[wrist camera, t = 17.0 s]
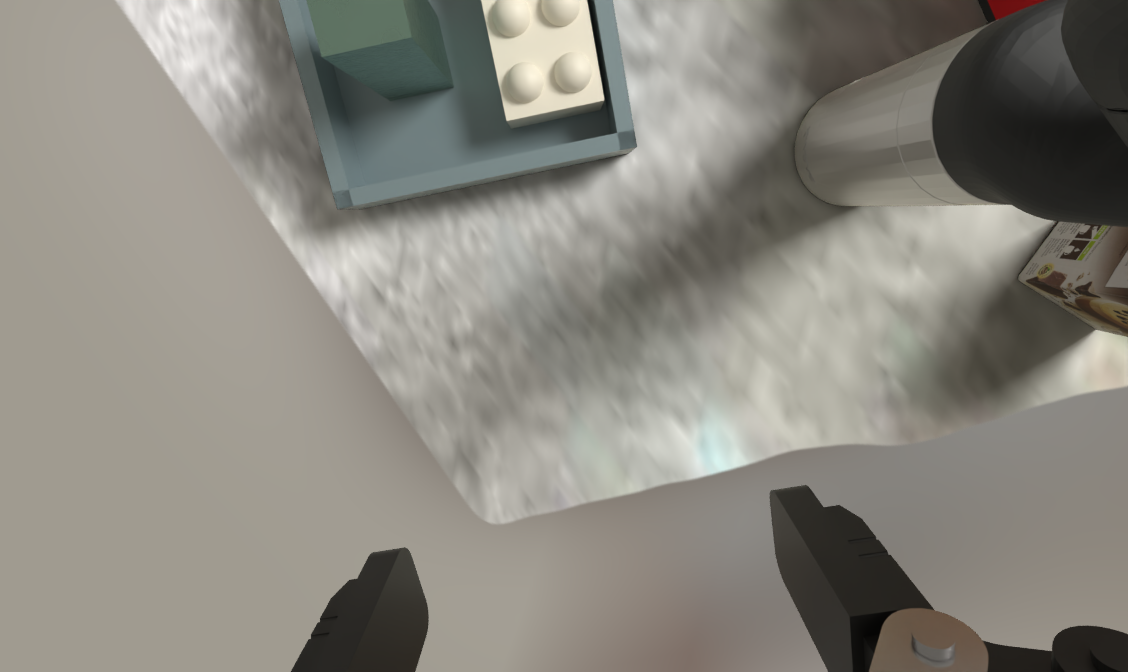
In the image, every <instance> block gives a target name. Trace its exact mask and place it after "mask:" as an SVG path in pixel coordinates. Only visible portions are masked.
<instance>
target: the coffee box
mask: <svg viewBox="0 0 1128 672" xmlns="http://www.w3.org/2000/svg"><path fill="white" fill-rule="evenodd" d="M1018 278H1019V281H1020V282H1022V283H1023V284H1025V285H1026V286H1028V287H1030V288H1031V289H1033V290H1034V291H1036V292H1038V293H1039V294H1041V295H1042V296H1044V297H1046V298H1047V299H1049V300H1050V301H1052V302H1054V303H1055V304H1057V305H1058V306H1060V307H1061V308H1063V309H1065V310H1066V311H1068V312H1069V313H1071V314H1072V315H1074V316H1076V317H1077V318H1079V319H1080V320H1082V321H1083V322H1085V323H1087V324H1088V325H1090V326H1091V327H1093V328H1095V329H1096V330H1100V331H1104V332H1109V333H1113V334H1117V335H1122V336H1126V337H1128V227H1117V226H1106V225H1094V224H1082V223H1070V222H1060V221H1059V222H1058V224H1057V225H1056V226H1055V228H1054V229H1053V230H1052V232H1051V233H1050V235H1049V236H1048V237H1047V239H1046V240H1045V241H1044V243H1043V244H1042V245H1041V247H1040V248H1039V249H1038V251H1037V252H1036V253H1035V255H1034V256H1033V257H1032V259H1031V260H1030V261H1029V263H1028V264H1027V265H1026V267H1025V268H1024V269H1023V271H1022V272H1021V274H1020V275H1019V277H1018Z"/></svg>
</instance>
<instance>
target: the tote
mask: <svg viewBox="0 0 1128 672" xmlns="http://www.w3.org/2000/svg"><path fill="white" fill-rule="evenodd" d="M428 1H429V3H430V4H431V6H432V8H433V9H434V11H435V12H436V14H437V16H438V19H439V23H440V27H441V32H442V36H443V41H444V45H445V49H446V54H447V58H448V62H449V67H450V71H451V76H452V80H453V84H454V88H449V89H445V90H440V91H435V92H431V93H426V94H422V95H417V96H412V97H408V98H403V99H398V100H394V101H389V100H388V99H386V98H384V97H383V96H381V95H380V94H378V93H377V92H375V91H374V90H372V89H370V88H369V87H367V86H366V85H364V84H363V83H361V82H360V81H358V80H357V79H355V78H353V77H352V76H350V75H349V74H347V73H346V72H344V71H343V70H341V69H339V68H338V67H336V66H335V65H333V64H332V63H330V62H329V61H327V60H325V59H324V58H322V56H321V53H320V49H319V45H318V42H317V38H316V34H315V31H314V27H313V23H312V20H311V16H310V12H309V8H308V5H307V1H306V0H279V3H280V6H281V10H282V13H283V17H284V21H285V24H286V28H287V31H288V35H289V38H290V42H291V46H292V49H293V53H294V56H295V60H296V63H297V67H298V71H299V74H300V78H301V81H302V85H303V88H304V92H305V96H306V99H307V103H308V106H309V110H310V113H311V117H312V121H313V124H314V128H315V131H316V135H317V139H318V142H319V146H320V149H321V153H322V156H323V160H324V164H325V167H326V171H327V174H328V178H329V181H330V185H331V189H332V192H333V196H334V199H335V203H336V206H337V209H364V208H369V207H374V206H379V205H383V204H388V203H393V202H398V201H403V200H407V199H412V198H417V197H422V196H427V195H431V194H436V193H441V192H446V191H451V190H455V189H460V188H465V187H470V186H475V185H480V184H484V183H489V182H494V181H499V180H504V179H508V178H513V177H518V176H523V175H528V174H532V173H537V172H542V171H547V170H552V169H556V168H561V167H566V166H571V165H576V164H580V163H585V162H590V161H595V160H600V159H604V158H609V157H614V156H619V155H624V154H628V153H630V152H631V151H632V150H634V149H635V148H636V147H637V144H636V138H635V132H634V126H633V120H632V114H631V108H630V102H629V96H628V90H627V84H626V78H625V71H624V65H623V59H622V53H621V47H620V41H619V35H618V29H617V23H616V17H615V11H614V5H613V0H587V3H588V9H589V14H590V20H591V26H592V32H593V37H594V43H595V49H596V54H597V60H598V66H599V72H600V77H601V83H602V89H603V95H604V103H603V105H602V107H601V110H598V111H593V112H589V113H584V114H579V115H574V116H570V117H565V118H560V119H555V120H551V121H546V122H541V123H536V124H532V125H527V126H522V127H517V128H513V129H511V128H510V126H509V124H508V123H507V121H506V116H505V111H504V107H503V102H502V97H501V92H500V88H499V83H498V78H497V73H496V69H495V64H494V59H493V54H492V50H491V45H490V40H489V35H488V31H487V26H486V21H485V16H484V12H483V7H482V2H481V0H428Z"/></svg>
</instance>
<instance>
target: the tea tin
mask: <svg viewBox="0 0 1128 672" xmlns="http://www.w3.org/2000/svg"><path fill="white" fill-rule="evenodd" d="M306 1H307V5H308V8H309V12H310V16H311V20H312V23H313V27H314V31H315V34H316V38H317V42H318V45H319V49H320V53H321V56H322V58H324V59H325V60H327V61H329V62H330V63H332V64H333V65H335V66H336V67H338V68H339V69H341V70H343V71H344V72H346V73H347V74H349V75H350V76H352V77H353V78H355V79H357V80H358V81H360V82H361V83H363V84H364V85H366V86H367V87H369V88H370V89H372V90H374V91H375V92H377V93H378V94H380V95H381V96H383V97H384V98H386V99H388V100H389V101H394V100H398V99H403V98H408V97H412V96H417V95H422V94H426V93H431V92H435V91H440V90H445V89H449V88H454V84H453V80H452V76H451V71H450V67H449V62H448V58H447V54H446V49H445V45H444V41H443V36H442V32H441V27H440V23H439V19H438V16H437V14H436V12H435V11H434V9H433V8H432V6H431V4H430V3H429V1H428V0H306Z"/></svg>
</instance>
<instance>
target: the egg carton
mask: <svg viewBox="0 0 1128 672" xmlns="http://www.w3.org/2000/svg"><path fill="white" fill-rule="evenodd" d="M481 2H482V7H483V12H484V16H485V21H486V26H487V31H488V35H489V40H490V45H491V50H492V54H493V59H494V64H495V69H496V73H497V78H498V83H499V88H500V92H501V97H502V102H503V107H504V111H505V116H506V121H507V123H508V124H509V126H510V128H511V129H513V128H517V127H522V126H527V125H532V124H536V123H541V122H546V121H551V120H555V119H560V118H565V117H570V116H574V115H579V114H584V113H589V112H593V111H598V110H601V107H602V105H603V103H604V95H603V89H602V83H601V77H600V72H599V66H598V60H597V54H596V49H595V43H594V37H593V32H592V26H591V20H590V14H589V9H588V3H587V0H481Z"/></svg>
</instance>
